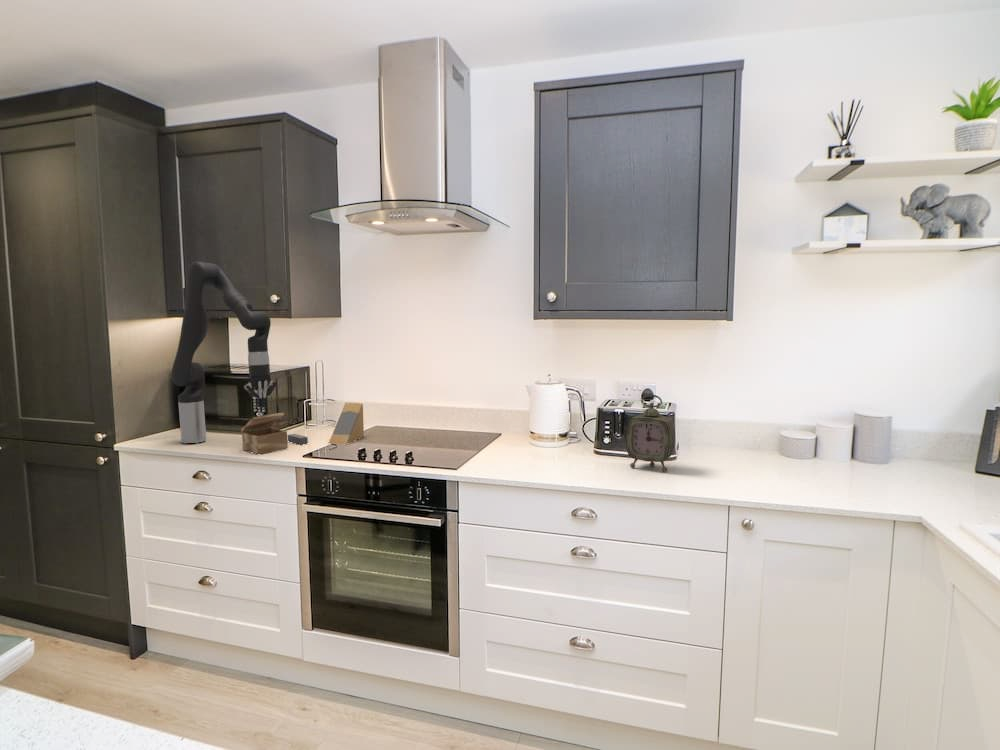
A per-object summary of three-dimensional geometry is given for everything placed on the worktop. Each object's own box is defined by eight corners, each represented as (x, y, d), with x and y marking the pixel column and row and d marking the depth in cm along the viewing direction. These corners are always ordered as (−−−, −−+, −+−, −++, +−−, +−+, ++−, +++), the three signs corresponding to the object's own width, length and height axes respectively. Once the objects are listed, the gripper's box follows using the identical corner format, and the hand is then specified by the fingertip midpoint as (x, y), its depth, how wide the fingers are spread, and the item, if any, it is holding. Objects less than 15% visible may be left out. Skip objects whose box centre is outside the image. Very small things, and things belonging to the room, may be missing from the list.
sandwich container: (326, 444, 232) (324, 408, 230) (346, 436, 246) (344, 402, 245) (345, 446, 229) (343, 409, 228) (364, 437, 244) (363, 403, 242)
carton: (243, 450, 224) (242, 432, 223) (272, 444, 233) (270, 427, 232) (258, 454, 216) (257, 436, 215) (287, 448, 225) (286, 431, 224)
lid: (241, 432, 223) (240, 429, 223) (271, 426, 232) (270, 424, 232) (254, 419, 215) (253, 417, 216) (284, 414, 225) (283, 412, 225)
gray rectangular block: (288, 442, 237) (287, 434, 237) (294, 441, 240) (294, 433, 239) (301, 445, 231) (300, 438, 231) (307, 444, 233) (307, 436, 233)
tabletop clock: (625, 468, 192) (626, 394, 189) (633, 462, 200) (634, 391, 197) (668, 474, 184) (670, 397, 182) (675, 467, 192) (677, 394, 189)
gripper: (270, 361, 229) (272, 404, 231) (237, 364, 219) (240, 409, 221) (279, 362, 224) (282, 405, 226) (247, 365, 214) (250, 410, 216)
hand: (261, 407), depth 223 cm, fingers closed
